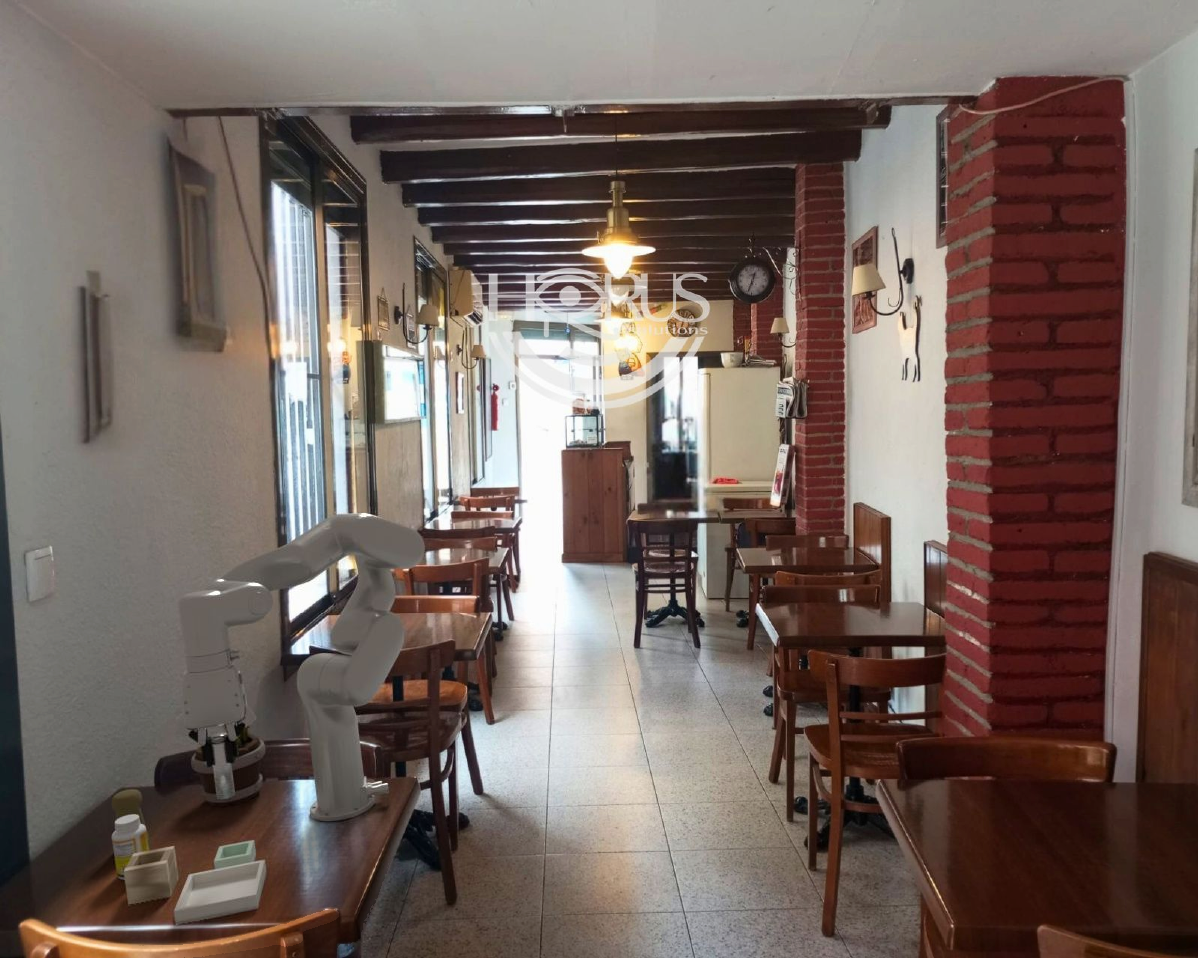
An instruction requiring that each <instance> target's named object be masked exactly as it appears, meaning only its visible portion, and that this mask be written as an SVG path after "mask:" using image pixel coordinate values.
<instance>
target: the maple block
mask: <svg viewBox="0 0 1198 958" xmlns="http://www.w3.org/2000/svg"><path fill="white" fill-rule="evenodd" d="M177 862H178V861H177V857H176V849H175V845H172V846H166V847H162V848H161V847H160V848H155V849H152V850H151V849H149V851H144V852H139V853H134V854H133V855H132V857H131V859H130V861H129V863H128V864H127V866H126V868H125V870H124V878H125V880H124V884H125V892H126V896H127V898H126V899H127V904H128V905H127V906H130V905H129V904H132V903H133V904H134V903H139V904H142V903H141V902H144V901H149V902H151V901H150V900H154V901H158V900H157V899H159V900H163V898H164V899H168V898H172V895H173V893H174V891H175V888H176V886H177V884H178V881H179V877H180V876H179V872H178V865H177V864H178V863H177ZM144 903H145V902H144ZM134 905H135V904H134Z"/></svg>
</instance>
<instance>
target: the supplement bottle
mask: <svg viewBox="0 0 1198 958" xmlns="http://www.w3.org/2000/svg"><path fill="white" fill-rule="evenodd" d="M145 825H146V824H145ZM145 825H143V824H140V819H139V815H136V814H132V815H127V816H123V817H121V818H119V819H117V820H116V819H115V821H114V832H113V833H112V834H111V842H112V849H113V855H114V861H115V862H114V863H115V869H116V873H117V874H116V875H117V877H118V879H120V880H122V881H125V878H124V870H125V868H126V866H127V864H128V863H129V861H130V859H131V857H132V855H133V854H134V853H139V852H144V851H150V846H148V839H147V832H148V831H147V832H146V828H147V826H146V827H145Z"/></svg>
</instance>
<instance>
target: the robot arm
mask: <svg viewBox="0 0 1198 958" xmlns="http://www.w3.org/2000/svg"><path fill="white" fill-rule="evenodd" d="M425 548H426V545H425V541H424V538H423V537H422V536H421V534H420V533H419V532H418V531H417V530H415V529H414V528H412V527H409V526H407V525H403V524H400V523H398V522H395V521H392V520H390V519H386V518H383V517H381V516H377V515H375V514H370V513H360V512H359V513H336V514H333V515H330V516H328V517H326V518H325V519H323V520H321V521H320V522H318V523H317V524H316V525H314V526H312V527H311V528H309V529H308V530H306V531H305V532H303V533H302V534H300V535H298V536H297V537H296V538H294V539H292V540H291V541H290V542H288V543H286V544H284V545H282V546H280V547H277V548H274V549H272V550H270V551H267V552H265V553H263V554H261V555H259V556H255V557H253V558H250V559H248V560H246V561H244V562H242V563H239V564H238V565H236V566H234V567H232V568H231V569H229V570H227V571H225V572H223V574H221V575H220V576H218V577H217V578H215V579H214V580H213V581H211V582H210V583H209V584H207V586H206V587H205V588H204V589H203V590H199V591H193V592H189V593H186V594H184V595H182V596H181V597H180V598H179V599H178V603H177V606H178V607H177V608H178V616H179V622H180V623H179V624H180V631H181V639H182V647H183V653H184V661H185V671H183V672H182V673H183V674H182V681H181V700H182V701H181V704H182V706H181V707H182V717H181V720H180V722H179V724H178V727H177V728H176V733H177V734H178V735H182V736H184V737H189V738H190V739H192V740H193V741H194V742H196V743H197V744H198V745H199V747H200V746H201V749H202V757H203V762H207V767H211V766H212V765H213V763H212V755H211V747H210V742H209V735H208V734H209V728H212V727H213V728H214V727H221V726H224V725H226V727H227V729H226V730H227V731H228V735H229V737H228V741H227V750H228V757H229V763H231V764H232V763H234V761H235V759H236V756H238V755H239V750H238V742H237V737H238V736H239V734H240V733H241V732H242V731H243V730H244V728H246V727H247V726H251V724H253V723H255V721H256V719H257V715H256V714H255V713H254V711H253V710H252V709H251V708H250V706H249V705H248V702H247V694H246V690H245V686H244V681H243V678H242V677H243V676H242V673H241V670H240V668H239V667H240V666H239V664H238V663H237V662H234V660H237V659H240V658H241V651H240V650H233V648H232V646H231V641H230V639H231V638H230V631H229V628H232V627H236V626H238V627H239V626H246V625H252V624H255V623H258V622H261V621H262V620H264V619H265V618H266V617H267V616H268V615H269V614H270V612H271V611H272V610H273V609H272V608H273V605H274V602H273V601H274V598H273V595H272V592H273V591H277V590H282V589H289V588H293V587H298V586H300V585H303V584H306V583H309V582H312V581H313V580H314V579H316V578H317V577H319V576H320V575H321V574H323V573H324V572H325V571H326V570H328V569H330V568H331V567H332V566H334V565H335V564H337V563H338V562H339V561H341V560H342V559H344V558H347V557H348V556H353V557H354V560H355V561H354V562H355V565H356V569H357V583H356V587H354V588H355V589H354V590H353V592H352V594H351V596H350V597H349V599H348V600H347V603H346V604H345V605H344V608H343V609H342V611H341V612H340V614H339V616H338V617H337V619H336V621H335V622H334V625H333V626H332V629H331V631H330V636H329V638H330V644H331V646H332V647H333V649H334V650H336V651H337V652H339V653H330V652H329V653H328V652H325V653H323V652H322V653H321V652H320V653H317V654H313V655H310V656H309V657H307V658H306V659H305V660H304V661H303V662H302V663H301V665H300V666H299V668H298V671H297V675H296V687H297V692H298V694H299V697H300V699H301V703H302V706H303V709H304V713H305V719H306V724H307V731H308V739H309V740H308V741H309V747H310V755H311V764H312V772H313V778H314V789H315V794H316V795H315V796H316V800H315V801H314V802H313V803H312V804H311V806H310V808H309V813H310V817H311V818H312V819H315V820H317V821H321V822H337V821H343V820H348V819H350V818H354V817H357V816H360V815H361V814H363V813H365V812H367V811H368V810H369V809H371V808H372V807H373V805H375V802H376V801H375V796H376V795H384V794H389V792H390V791H389V784H388V783H383V781H382V780H380V781H375V782H371V781H369V782H368V779H367V776H365V775H364V767H363V760H362V759H363V758H362V749H361V741H360V734H359V724H358V723H359V722H358V718H357V714H356V711H355V708H354V707H361V706H364V705H367V704H369V702H371V701H372V700H374V698H375V697H376V696H377V694H378V692H379V690H380V689H381V687H382V686H383V684H384V682H385V681H386V678H387V677H388V675H389V673H390V671H391V670H392V668H393V666H394V664H395V662H396V660H397V659H398V657H399V655H400V653H401V650H402V648H403V645H404V643H405V642H404V641H405V626H404V623H403V621H402V619H401V618H400V617H399V616H398V615H397V614H396V613H394V612H393V611H391V608H392V606H393V604H394V602H395V599H396V595H397V594H396V591H397V590H396V585H395V581H394V577H393V574H392V569H397V570H406V569H411V568H414V567H416V566H417V565H419V564H420V562H421V561H422V560H423V558H424V556H425V550H426V549H425ZM340 653H341V654H340ZM244 716H245V719H244V720H242V719H243V718H244ZM241 720H242V721H241ZM239 721H240V722H239ZM236 722H239V724H238V725H237V723H236ZM227 731H226V732H227Z"/></svg>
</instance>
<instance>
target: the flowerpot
mask: <svg viewBox="0 0 1198 958" xmlns="http://www.w3.org/2000/svg"><path fill="white" fill-rule="evenodd" d="M244 719H245V716H244V718H243V719H242V720H244ZM242 720H241V721H242ZM239 722H240V721H239ZM239 722H236V723H237V725H238V724H239ZM221 726H222V727H221V728H223V733H227V734H228V731H227V727H226V725H221ZM250 728H251V725H249V726H247V727H246V728H244V730H243V731H242V732H241V733H240V734H239V736H238V737H237V742H238V750H239V755H238V756H236V759H235V761H234V763H232V764H231V766H232V774H233V782H234V790H235V795H234V796H232V797H230V798H227V799H217V794H216V786H215V778H214V771H213V765H212V766H211V767H207V762H203V757H202V749H201V746H200V745H199V746H198V747H197V748H196V750H195V753H194V754H193V755H192V757H191V760H190V764H191V768H192V770H193V771H195V772H197V773H198V776H199V778H200V782H201V784H202V786H203V788H202V790H201V791H202V796H203V799H205V801H207V802H209V804H210V805H211V806H213V805H215V806H214V807H218V806H219V807H227V806H228V805H229V804H231V803H232V804H233V805H239V804H241V803H242V802H246V800H247V801H249V800H251V799H252V797H253V798H255V797H256V796H257V795H258V794H259V792H260V789H261V788H262V784H263V775H262V774H261V767H262V758H263V757H264V756H265V754H266V745H265V742H264V740H261V739H260V737H259V736H256V735H254V734H252V733H251V732H250ZM215 734H217V732H216V733H215ZM211 735H212V734H209V733H208V737H210V736H211ZM228 737H229V735H228ZM257 793H258V794H257ZM254 796H255V797H254ZM248 799H249V800H248ZM238 803H239V804H238Z"/></svg>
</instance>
